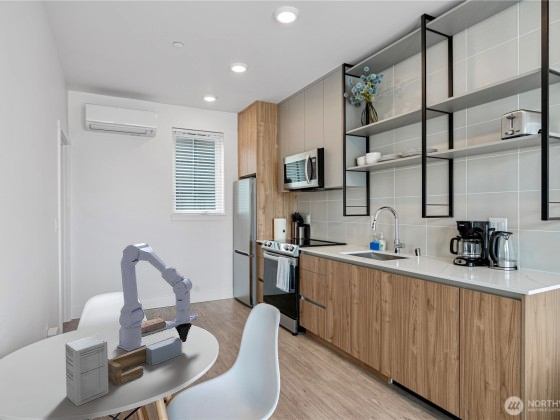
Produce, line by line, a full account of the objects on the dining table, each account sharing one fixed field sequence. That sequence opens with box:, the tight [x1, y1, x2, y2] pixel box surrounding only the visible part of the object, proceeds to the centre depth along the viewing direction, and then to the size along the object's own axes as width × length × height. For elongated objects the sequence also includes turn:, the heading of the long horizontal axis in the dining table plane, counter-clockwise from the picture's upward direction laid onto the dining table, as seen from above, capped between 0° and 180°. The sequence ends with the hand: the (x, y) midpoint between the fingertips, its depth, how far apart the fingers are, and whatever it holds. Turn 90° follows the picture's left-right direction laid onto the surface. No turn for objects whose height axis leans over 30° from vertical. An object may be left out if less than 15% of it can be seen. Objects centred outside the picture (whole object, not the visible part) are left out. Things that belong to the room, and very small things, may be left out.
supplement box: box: [64, 334, 109, 407], centre depth 106 cm, size 10×9×17 cm
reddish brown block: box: [141, 317, 168, 338], centre depth 162 cm, size 18×5×10 cm
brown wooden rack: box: [108, 336, 176, 386], centre depth 127 cm, size 10×30×6 cm, turn 144°
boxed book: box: [145, 336, 184, 366], centre depth 132 cm, size 4×13×6 cm, turn 139°
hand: (183, 341), depth 140 cm, fingers closed
